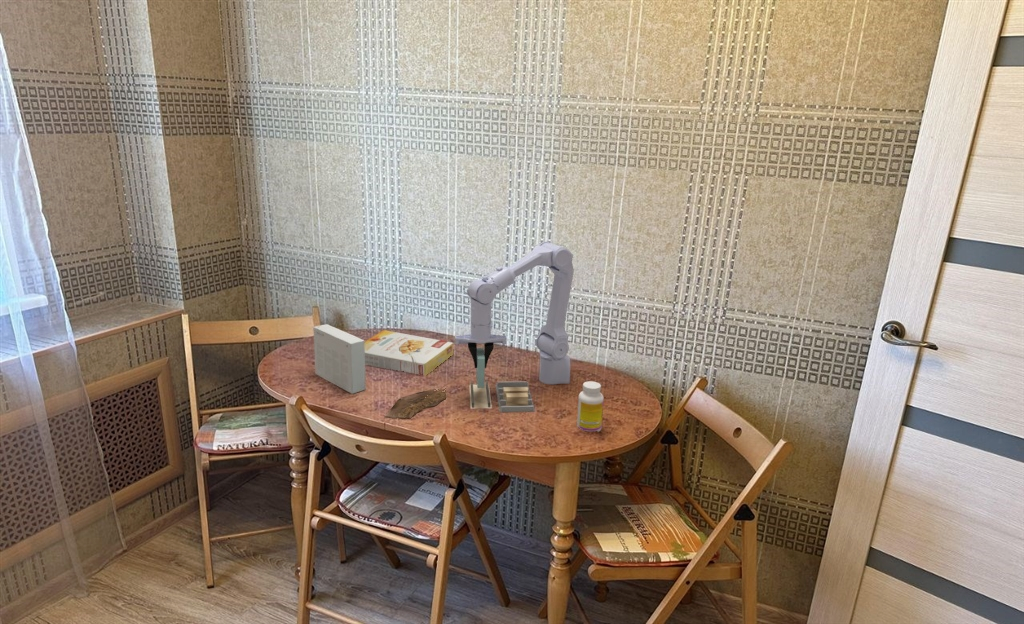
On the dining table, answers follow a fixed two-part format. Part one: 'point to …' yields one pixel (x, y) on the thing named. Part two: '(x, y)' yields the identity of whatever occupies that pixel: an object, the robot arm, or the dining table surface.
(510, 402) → the offcut front
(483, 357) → the teal rectangular block
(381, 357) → the cereal box
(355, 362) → the skincare box
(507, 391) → the block
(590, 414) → the supplement bottle
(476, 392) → the holder
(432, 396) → the wooden fragment
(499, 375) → the dining table surface
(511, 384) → the rack
